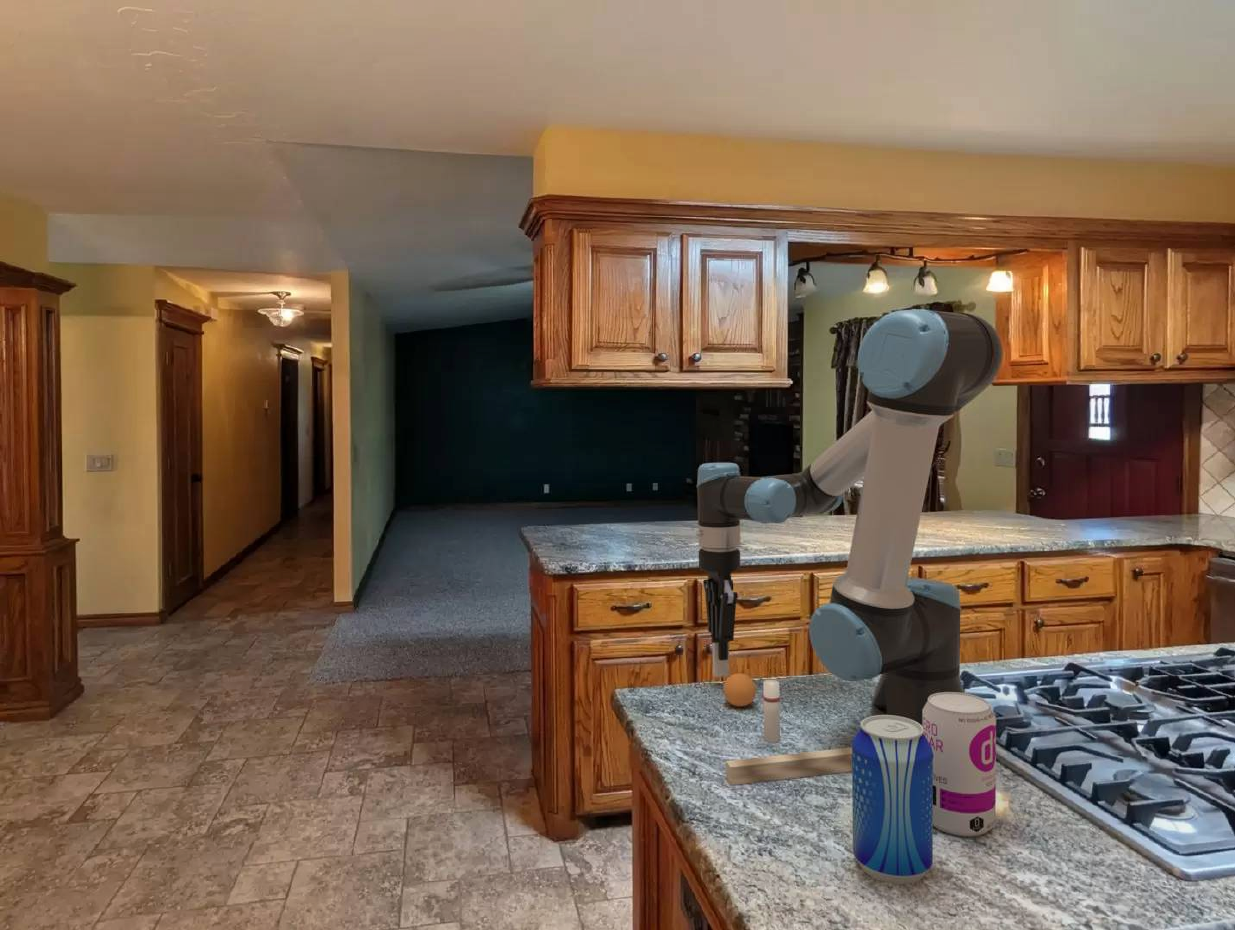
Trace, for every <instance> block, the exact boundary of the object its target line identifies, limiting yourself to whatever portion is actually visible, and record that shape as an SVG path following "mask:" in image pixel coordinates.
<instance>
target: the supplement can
mask: <svg viewBox="0 0 1235 930" xmlns="http://www.w3.org/2000/svg"><path fill="white" fill-rule="evenodd" d="M922 727H923V729H924V733H923V734H924V735H925V737H926V739H927V740H928V742H929V744H930V745H931V747H932V750H933V827H934V828H936V829H937V830H939V831H941V832H944V833H948V834H950V835H952V836H953V835H955V836H958V837H959V836H960V837H978V836H982V835H984V834H986V833H987V832H989V830H991V829H993V828H994V827H995V824H996V813H997V812H996V802H997V801H996V799H997V797H996V796H997V794H996V790H997V788H996V786H997V782H996V781H997V780H996V779H997V777H996V776H997V774H996V773H997V772H996V771H997V761H996V760H997V718H996V716H995V713H994V712H993V710H992V708H991V704H990V702H989V701H988V700H986V699H985V698H982V697H980V696H977V695H975V694H970V693H966V692H965V693H958V692H941V693H935V694H933V695H930V696H929V697H928V701H927V703H926V705H925V706H924V708H923V709H922Z"/></svg>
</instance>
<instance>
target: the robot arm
mask: <svg viewBox="0 0 1235 930" xmlns="http://www.w3.org/2000/svg"><path fill="white" fill-rule="evenodd" d="M1003 357H1004V352H1003V343H1002V341H1001V338H1000V335H999V333H998V332H997V330H996V329H995V327H993V325H992V324H991V323H989V322H988V321H987V320H986V319H983V318H982V317H980V316H977V315H974V314H973V313H968V312H949V311H940V310H939V311H937V310H929V309H925V308H922V309H921V308H920V309H918V308H917V309H916V308H912V309H901V310H895V311H893V312H890V313H888V314H886V315H883V316H882V317H881V318H880V319H878V320H877V321H876V322H874V323H873V324H872V325H871V326H870V327H869V328H868V330H867V332H865V334H864V337H863V338H862V341H861V342H860V346H859V349H858V353H857V370H858V374H859V375H860V376H861V377H862V378H861V381H862V384H863V385H864V386H865V388H866V389H867V390H868V391H867V392H868V393H867V399H866V404H867V405H868V407H869V409H871V411H870V412H868V413H867V414H866V415H864V417H863V418H861V419H860V420H859V421H858V422H857V423H856V424H855V425H854V426H852V427H851V428H849V430H848V431H847V432H846V433H845V434H844V435H842V436H841V437H839V439H837V440H836V442H834V443H833V444H832V445H831V446H829V448H827V449H826V450H825V451H823V452H822V453H821V455H819V456H818V457H817V458H816V459H815V460H814V461H813V462H811V463H810V464H809V465H808V466H806V467H805V468H804V469H803V470H802V471H801V472H798V473H790V474H789V473H788V474H781V475H780V474H777V475H769V476H768V475H767V476H743V475H741V472H740V467H739V465H738V464H737V463H733V462H707V463H702V464H700V465H699V467H698V469H697V483H696V489H697V491H696V492H697V521H698V522H697V523H698V530H696V531H695V536H696V537H698V546H699V547H700V548H699V550H698V567H699V570H701V571H703V572H706V573H707V577H708V578H706V579H703V582H702V584H703V589H704V594H705V605H706V618H707V631H708V633H709V634H710V638H711V643H712V644H711V645H712V652H711V653H712V675H713V677H714V678H720V677H721V678H722V677H730V642H733V641H734V640H735V639H734V636H735V623H736V607H737V601H738V596H739V595H738V592H737V591H734V581H733V580H732V573H733V572H737V571H739V570H740V569H741V550H740V549H739V547H740V546H741V520H746V521H751V522H757V523H761V524H776V525H777V524H782V523H784V522H786V521H787V520H788V519H789V518H793V517H800V516H809V515H821V514H825V513H827V512H832V511H834V510H836V509H837V508H838V507H839V506H840V505H841V504H842V502H843V499H844V496H845V492H847V491H848V490H849V489H850V488H852V487H853V486H855V485H856V484H857V483H858V482H859V481H860V480H862V484H861V485H862V487H861V491H860V496H859V501H858V507H857V513H856V518H855V522H854V529H853V533H852V534H853V535H852V539H851V546H850V550H849V555H848V560H847V567H846V570H845V572H843V573H841V574H840V575H838V576H836V577H835V578H834V580H833V582H832V587H831V593H830V599H829V602H828V603H827V602H826V603H824V604H823V605H820V607H818V608H817V609H816V610H814V611H813V613H812V615H811V617H810V620H809V627H808V629H809V630H808V631H809V639H810V644H811V647H812V650H813V652H814V653H815V654H816V655H817V659H818V661H819V662H820V663H821V665H822V666H823V667H824V668H825V669H826V670H827V671H828V672H829V673H831V675H833V676H835V677H837V678H839V679H841V680H843V681H847V682H858V681H864V680H865V681H866V680H872V679H875V678H876V677H878V676H880V678H879V680H878V683H877V686H876V688H875V691H874V694H873V697H872V701H871V703H870V704H871V705H870V706H871V709H870V714H871V715H870V716H876V715H893V716H900V717H905V718H908V719H911V720H914V721H916V722H918V723H919V724H920V725H922V709H923V708H924V706H925V705H926V703H927V701H928V697H929V696H930V695H933V694H935V693H941V692H958V693H966V692H965V689H964V686H963V683H962V681H961V676H960V675H961V673H960V672H961V671H960V670H961V668H960V666H961V665H960V664H961V612H962V607H961V600H960V592H959V590H958V588H957V587H956V586H955V585H953V584H951V583H949V582H945V581H941V580H935V579H928V578H922V577H921V578H920V577H911V576H909V575H910V569H911V564H912V559H913V554H914V549H915V544H916V539H917V535H918V531H919V525H920V520H921V516H922V511H923V507H924V501H925V496H926V491H927V487H928V482H929V477H930V473H931V469H932V464H933V459H934V454H935V449H936V445H937V439H938V434H939V429H940V426H942V425H943V424H944V423H945V422H947V421H949V420H950V419H952V418H953V417H954V415H955V414H956V413H957V412H959V411H960V410H962V409H963V408H964V407H965V406H967V405H968V404H969V403H971V402H973V400H974V399H976V398H977V396H979V395H980V394H982V393H983V392H984V391H985V390H986V389H987V388H988V387H989V386H990V385H991V384H992V383H993V382H994V380H995V379H996V377H997V375H999V374H998V373H999V372H1000V370H1001V366H1002V362H1003Z"/></svg>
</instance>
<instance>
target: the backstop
mask: <svg viewBox="0 0 1235 930" xmlns="http://www.w3.org/2000/svg"><path fill="white" fill-rule="evenodd" d="M725 772H726V773H725V778H726V780H727V782H728V784H729V785H730V786H736V785H744V784H752V783H762V782H769V781H778V780H788V779H789V780H790V779H797V778H805V777H815V776H821V775H822V776H823V775H831V774H839V773H840V774H841V773H849V772H852V747H844V748H842V747H841V748H835V749H825V750H816V751H807V752H799V753H788V754H781V755H780V754H779V755H770V756H762V757H761V756H760V757H753V758H744V759H733V760H726V761H725Z"/></svg>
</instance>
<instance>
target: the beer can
mask: <svg viewBox="0 0 1235 930" xmlns="http://www.w3.org/2000/svg"><path fill="white" fill-rule="evenodd" d="M923 733H924V729H923V727H922V725H920V724H919V723H918V722H916V721H914V720H911V719H908V718H905V717H900V716H893V715H876V716H871V715H870V716H868V717H866V718H864V719H862V720H861V722H860V728H859V730H858V731H857V733H856V734H855V736H854V737H853V740H852V744H851V748H852V771H851V774H852V775H851V777H852V779H851V780H852V781H851V785H852V786H851V787H852V795H851V797H852V802H851V803H852V805H851V806H852V808H851V809H852V854H853V857H854V858H855V860H857V862H858V863H859V865H860V867H861V869H862V870H863V871H864V873H866V874H867V875H869V876H870V877H872V879H873V878H874V879H876V880H878V881H881V882H885V883H888V884H895V885H908V884H913V883H916V882H920V880H922V879H923V878H924V877H925V874H926V872H928V871H929V870H930V869H931V867H932V866H933V861H934V859H933V857H934V856H933V855H934V853H933V848H934V847H933V846H934V845H933V844H934V841H933V837H934V836H933V832H934V830H933V829H934V828H933V827H934V826H933V750H932V747H931V745H930V744H929V742H928V740H927V739H926V737H925V735H924V734H923Z"/></svg>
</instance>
